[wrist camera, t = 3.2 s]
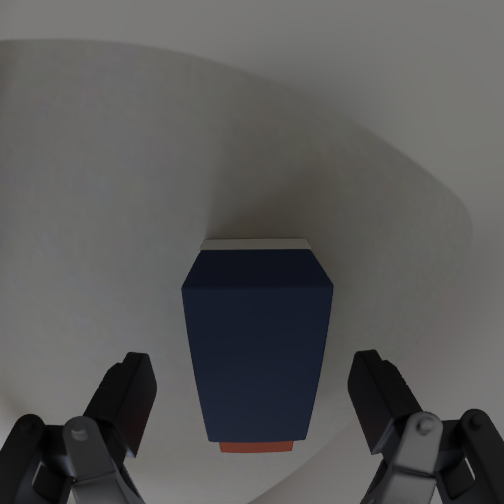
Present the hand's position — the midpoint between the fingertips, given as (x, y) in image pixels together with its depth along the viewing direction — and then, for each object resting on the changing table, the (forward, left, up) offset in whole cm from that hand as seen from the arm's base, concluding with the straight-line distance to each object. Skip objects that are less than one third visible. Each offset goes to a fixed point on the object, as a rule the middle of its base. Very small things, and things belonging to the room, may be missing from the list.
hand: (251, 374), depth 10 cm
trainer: (+1, +1, -4) cm, 5 cm away
